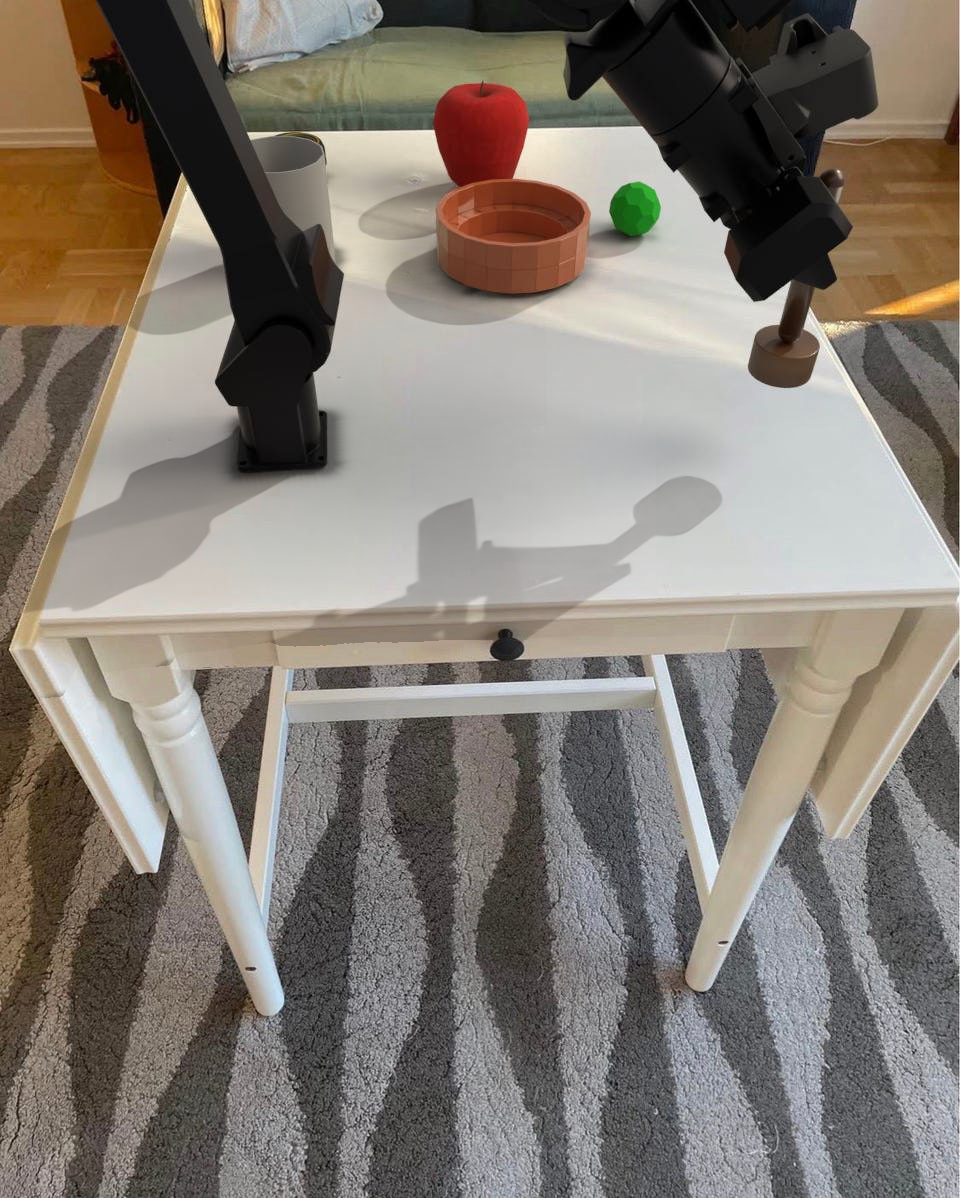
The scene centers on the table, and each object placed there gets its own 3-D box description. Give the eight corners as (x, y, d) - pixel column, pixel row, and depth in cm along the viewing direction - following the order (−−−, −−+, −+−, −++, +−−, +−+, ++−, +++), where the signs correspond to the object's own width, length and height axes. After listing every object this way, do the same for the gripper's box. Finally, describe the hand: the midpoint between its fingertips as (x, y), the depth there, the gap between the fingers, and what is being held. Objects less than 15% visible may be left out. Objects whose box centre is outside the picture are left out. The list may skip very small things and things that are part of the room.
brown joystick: (820, 386, 66) (885, 182, 56) (759, 390, 66) (813, 185, 55) (797, 352, 69) (855, 153, 59) (739, 356, 69) (786, 155, 58)
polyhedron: (621, 247, 94) (627, 198, 91) (598, 226, 97) (603, 178, 94) (665, 239, 95) (673, 191, 92) (641, 218, 99) (648, 171, 95)
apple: (528, 172, 106) (533, 65, 98) (522, 209, 100) (527, 98, 92) (441, 168, 107) (439, 61, 99) (428, 204, 100) (425, 93, 92)
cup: (318, 287, 88) (305, 177, 81) (234, 277, 89) (213, 168, 82) (345, 246, 93) (335, 140, 86) (266, 237, 95) (249, 132, 87)
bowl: (598, 294, 87) (604, 242, 84) (444, 302, 86) (444, 249, 83) (570, 225, 97) (574, 176, 94) (431, 231, 96) (430, 181, 92)
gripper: (867, 32, 44) (1005, 262, 52) (771, -64, 56) (894, 132, 65) (668, 203, 49) (822, 386, 57) (623, 79, 62) (753, 243, 70)
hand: (826, 277), depth 62 cm, fingers closed on brown joystick, 2 cm apart
